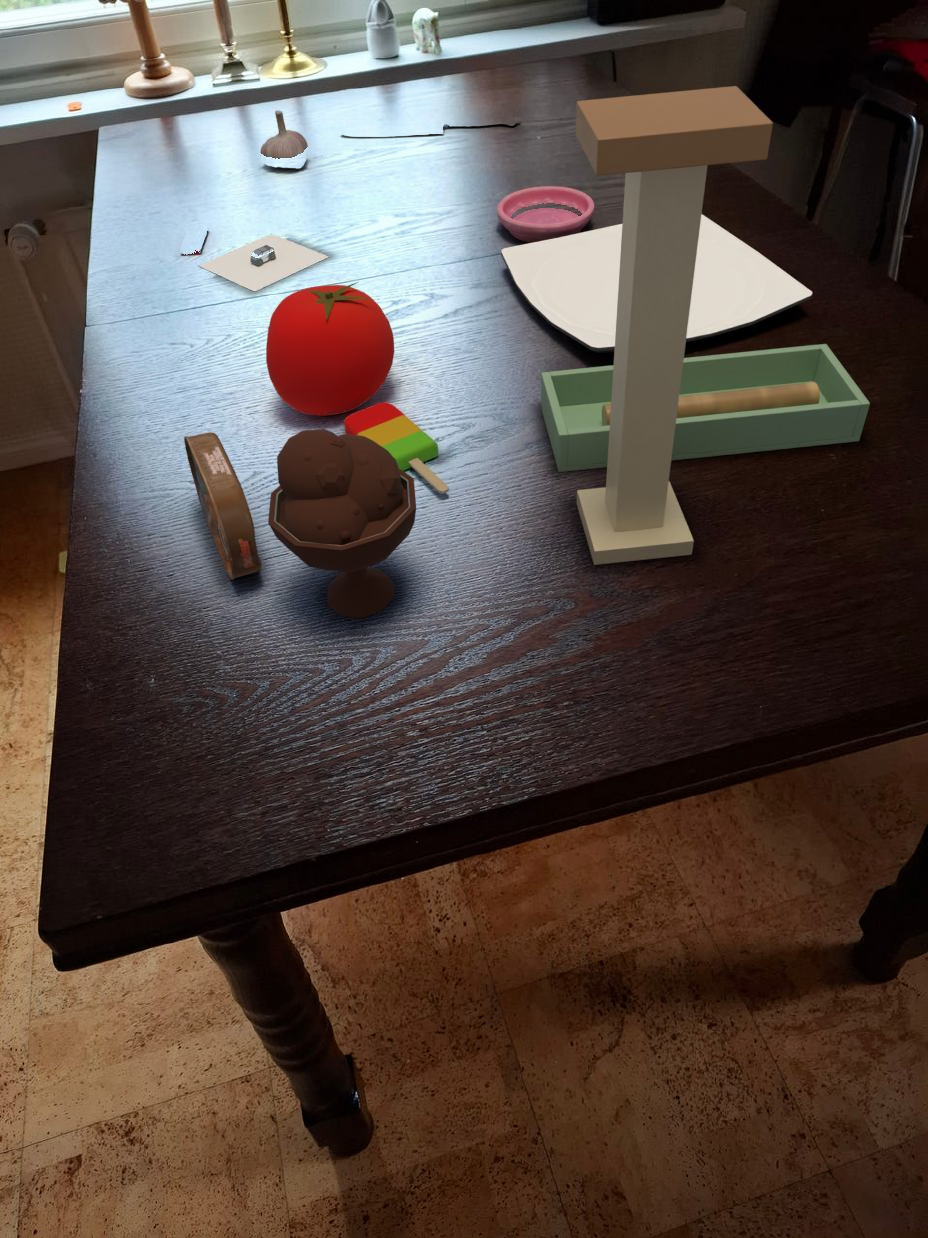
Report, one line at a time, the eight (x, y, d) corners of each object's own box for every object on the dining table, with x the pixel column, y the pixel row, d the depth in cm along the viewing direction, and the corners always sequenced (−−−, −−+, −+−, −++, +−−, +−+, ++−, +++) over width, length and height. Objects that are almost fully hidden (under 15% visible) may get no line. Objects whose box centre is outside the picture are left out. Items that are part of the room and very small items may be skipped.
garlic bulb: (313, 171, 139) (303, 114, 133) (265, 178, 138) (253, 120, 133) (308, 154, 144) (298, 98, 139) (262, 161, 144) (250, 105, 138)
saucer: (597, 246, 115) (598, 221, 113) (497, 251, 116) (497, 226, 113) (589, 206, 124) (590, 182, 121) (497, 211, 124) (496, 187, 122)
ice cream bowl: (348, 665, 68) (311, 506, 57) (267, 591, 74) (220, 435, 63) (456, 595, 72) (441, 435, 62) (371, 531, 79) (344, 375, 68)
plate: (486, 268, 112) (485, 247, 111) (693, 222, 118) (695, 201, 116) (586, 381, 93) (587, 357, 91) (827, 320, 99) (833, 296, 97)
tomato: (247, 409, 93) (219, 303, 85) (343, 351, 100) (325, 248, 92) (331, 450, 87) (310, 340, 79) (427, 386, 94) (416, 279, 86)
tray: (817, 380, 91) (826, 343, 88) (859, 441, 83) (870, 403, 81) (541, 408, 90) (541, 372, 87) (558, 472, 83) (559, 435, 80)
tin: (197, 498, 83) (170, 419, 77) (231, 488, 84) (207, 409, 78) (237, 601, 74) (210, 519, 68) (275, 588, 74) (252, 507, 68)
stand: (679, 493, 80) (734, 82, 57) (704, 553, 74) (776, 125, 51) (565, 504, 80) (574, 97, 57) (581, 566, 74) (599, 142, 51)
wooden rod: (808, 403, 88) (810, 378, 87) (818, 411, 86) (821, 385, 84) (601, 426, 87) (601, 401, 86) (607, 434, 85) (606, 409, 84)
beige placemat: (198, 265, 118) (195, 254, 117) (271, 233, 124) (269, 222, 123) (254, 291, 112) (251, 279, 111) (329, 256, 118) (327, 244, 117)
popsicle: (390, 413, 91) (388, 397, 90) (472, 487, 82) (471, 470, 81) (341, 433, 89) (338, 416, 88) (419, 511, 80) (417, 494, 79)
